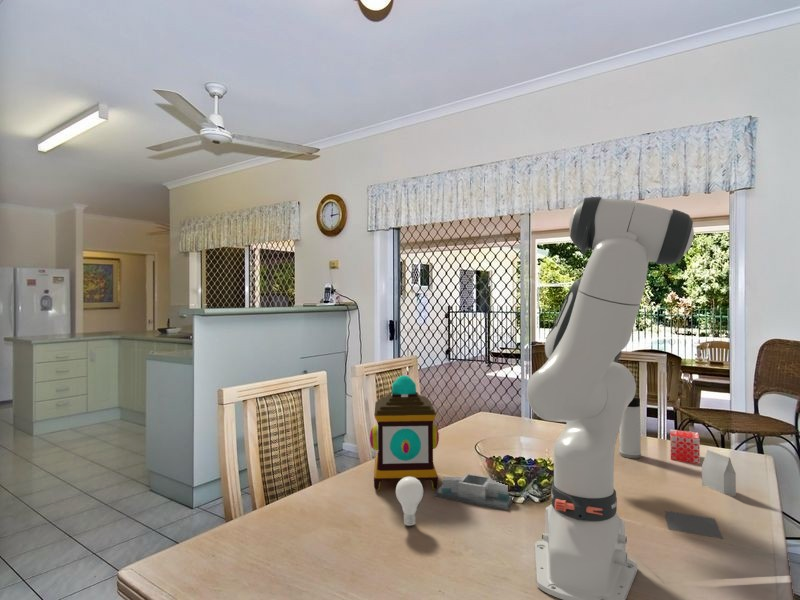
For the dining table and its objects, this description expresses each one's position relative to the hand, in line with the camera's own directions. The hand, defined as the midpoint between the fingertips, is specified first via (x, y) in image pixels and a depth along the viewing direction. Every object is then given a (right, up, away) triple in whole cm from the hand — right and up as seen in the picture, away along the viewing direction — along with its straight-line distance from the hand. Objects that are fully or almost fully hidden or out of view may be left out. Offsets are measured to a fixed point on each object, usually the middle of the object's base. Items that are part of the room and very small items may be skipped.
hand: (587, 423), depth 128 cm
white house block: (+33, -17, -5) cm, 38 cm away
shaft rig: (-32, -17, -7) cm, 37 cm away
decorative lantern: (-51, -18, +6) cm, 54 cm away
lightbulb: (-50, -18, -23) cm, 57 cm away
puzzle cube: (+40, -17, +22) cm, 49 cm away
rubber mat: (+14, -17, -24) cm, 33 cm away
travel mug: (+24, -17, +24) cm, 38 cm away
